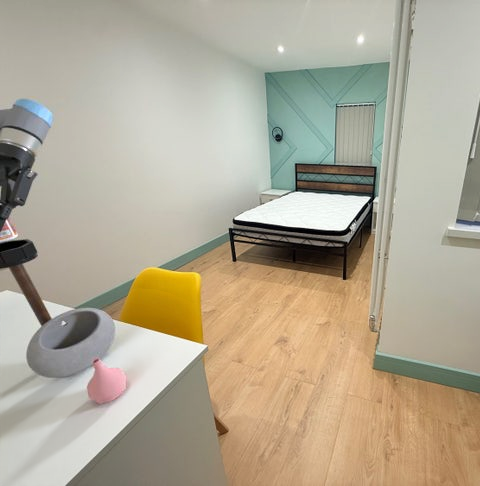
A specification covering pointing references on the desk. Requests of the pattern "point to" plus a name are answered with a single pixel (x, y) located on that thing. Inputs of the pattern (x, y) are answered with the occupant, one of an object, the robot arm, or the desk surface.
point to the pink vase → (105, 383)
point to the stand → (30, 293)
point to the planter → (70, 342)
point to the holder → (16, 252)
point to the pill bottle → (8, 231)
